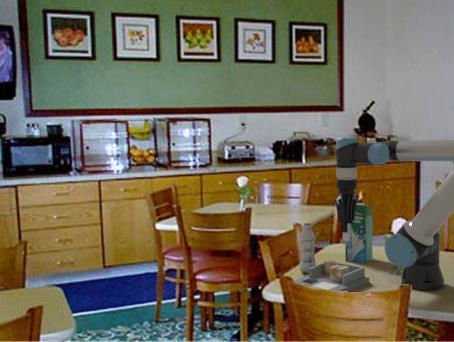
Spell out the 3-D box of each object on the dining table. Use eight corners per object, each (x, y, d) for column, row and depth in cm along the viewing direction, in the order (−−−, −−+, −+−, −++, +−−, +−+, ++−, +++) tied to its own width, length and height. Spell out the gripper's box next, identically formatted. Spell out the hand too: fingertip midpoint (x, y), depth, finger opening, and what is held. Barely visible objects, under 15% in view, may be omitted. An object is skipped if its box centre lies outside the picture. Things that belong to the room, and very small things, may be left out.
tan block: (337, 274, 225) (337, 261, 225) (331, 276, 222) (331, 263, 222) (328, 272, 228) (328, 259, 227) (322, 274, 225) (322, 262, 225)
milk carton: (372, 258, 254) (372, 202, 252) (365, 263, 247) (365, 205, 244) (352, 256, 259) (352, 200, 256) (345, 261, 251) (344, 203, 249)
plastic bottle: (312, 276, 231) (311, 226, 229) (297, 273, 234) (296, 225, 232) (319, 271, 236) (318, 223, 234) (303, 269, 240) (302, 222, 238)
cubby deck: (369, 282, 219) (369, 268, 219) (336, 297, 204) (335, 282, 203) (325, 273, 233) (325, 260, 233) (291, 286, 218) (290, 272, 217)
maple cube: (348, 279, 217) (348, 266, 217) (341, 282, 214) (341, 269, 213) (337, 277, 221) (337, 264, 220) (329, 280, 217) (329, 267, 217)
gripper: (347, 176, 225) (347, 236, 227) (328, 179, 215) (328, 242, 218) (364, 177, 219) (364, 238, 222) (345, 181, 210) (345, 245, 213)
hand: (346, 240), depth 220 cm, fingers closed
